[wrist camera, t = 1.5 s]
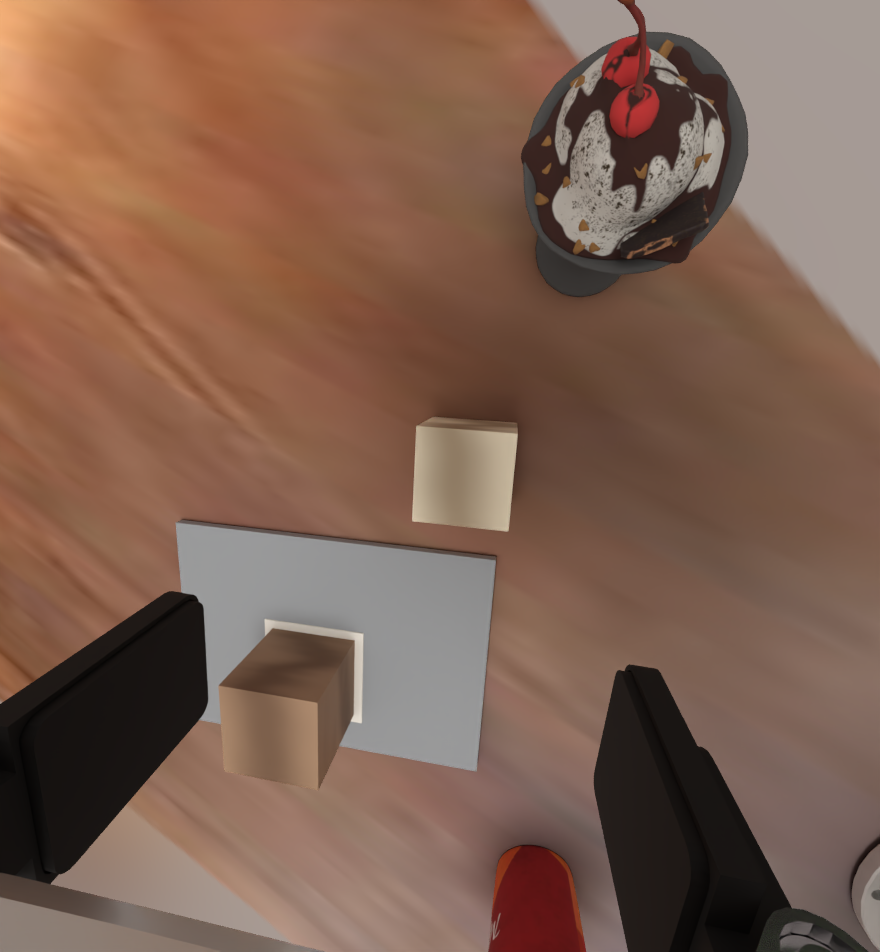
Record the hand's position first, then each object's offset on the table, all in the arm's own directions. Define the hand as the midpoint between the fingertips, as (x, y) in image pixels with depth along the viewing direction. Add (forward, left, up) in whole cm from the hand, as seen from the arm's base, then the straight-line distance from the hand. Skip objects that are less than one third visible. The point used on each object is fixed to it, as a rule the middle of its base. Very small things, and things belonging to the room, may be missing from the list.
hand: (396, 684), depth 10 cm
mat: (+9, +13, -18) cm, 24 cm away
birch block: (0, -1, -19) cm, 19 cm away
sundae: (-5, -13, -19) cm, 23 cm away
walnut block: (+10, +15, -18) cm, 25 cm away
